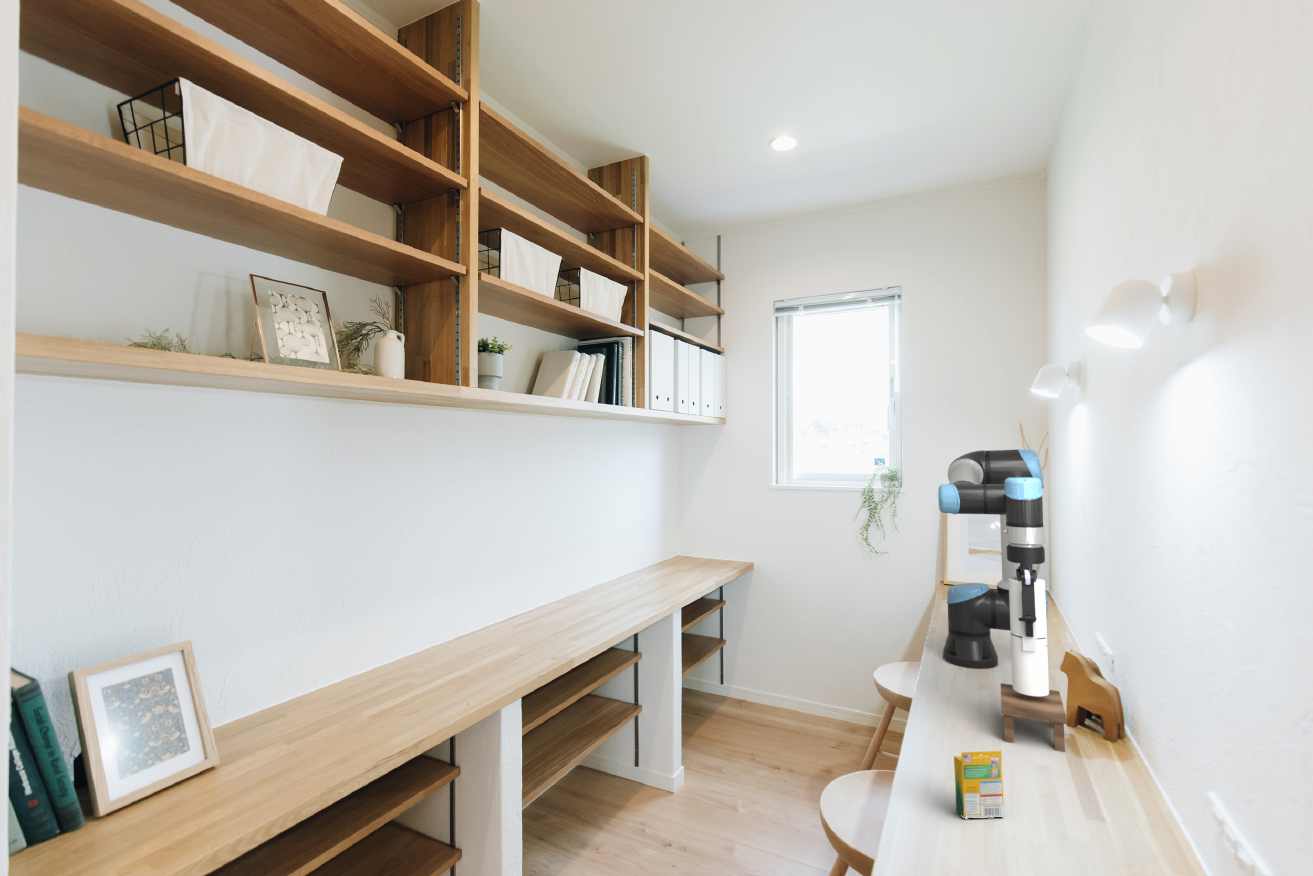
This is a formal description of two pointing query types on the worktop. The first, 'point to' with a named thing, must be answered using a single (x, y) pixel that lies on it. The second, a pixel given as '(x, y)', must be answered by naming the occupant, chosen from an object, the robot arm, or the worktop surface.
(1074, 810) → the worktop surface
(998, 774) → the crayon box
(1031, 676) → the cylindrical container
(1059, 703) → the brown flat-topped stand
